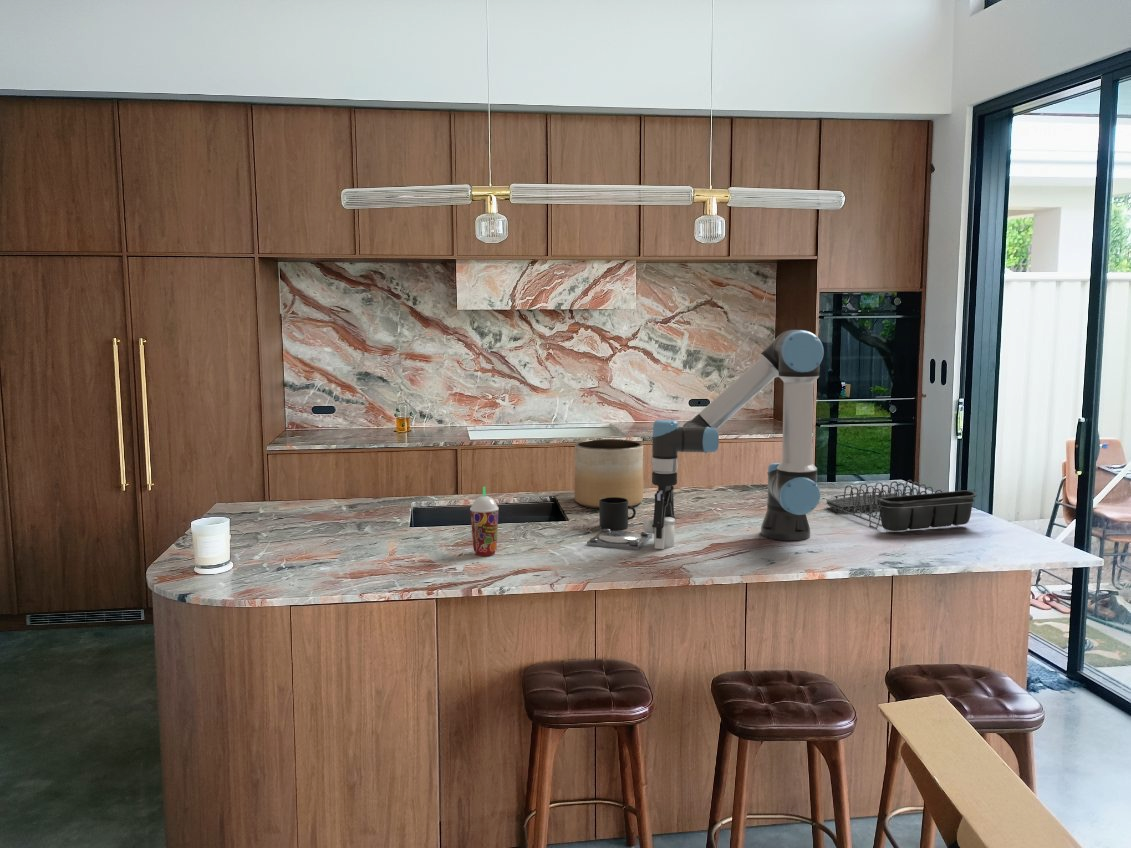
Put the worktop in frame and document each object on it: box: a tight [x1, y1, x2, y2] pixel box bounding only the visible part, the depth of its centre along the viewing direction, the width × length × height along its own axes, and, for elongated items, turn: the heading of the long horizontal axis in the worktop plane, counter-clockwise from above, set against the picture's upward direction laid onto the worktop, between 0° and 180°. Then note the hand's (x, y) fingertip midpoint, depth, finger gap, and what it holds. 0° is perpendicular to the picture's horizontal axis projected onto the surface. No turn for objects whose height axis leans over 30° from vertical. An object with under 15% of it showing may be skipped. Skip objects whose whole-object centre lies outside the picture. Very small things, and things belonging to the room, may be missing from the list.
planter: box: [573, 438, 644, 510], centre depth 328 cm, size 25×25×22 cm
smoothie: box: [469, 486, 500, 557], centre depth 260 cm, size 8×8×20 cm
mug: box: [598, 497, 637, 531], centre depth 292 cm, size 9×12×9 cm
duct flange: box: [586, 528, 653, 551], centre depth 275 cm, size 16×16×2 cm
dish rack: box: [825, 479, 978, 532], centre depth 303 cm, size 34×44×12 cm
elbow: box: [642, 517, 676, 549], centre depth 270 cm, size 9×7×8 cm
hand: (663, 544), depth 270 cm, fingers open, 9 cm apart
